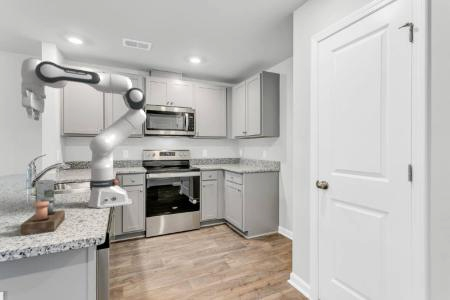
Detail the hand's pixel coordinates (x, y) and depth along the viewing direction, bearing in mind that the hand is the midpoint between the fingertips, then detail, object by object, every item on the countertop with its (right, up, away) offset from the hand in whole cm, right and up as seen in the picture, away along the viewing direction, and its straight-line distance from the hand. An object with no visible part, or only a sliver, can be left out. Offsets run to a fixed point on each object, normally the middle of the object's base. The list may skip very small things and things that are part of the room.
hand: (33, 119), depth 110 cm
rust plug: (+25, -42, -25) cm, 55 cm away
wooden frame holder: (+23, -47, -21) cm, 56 cm away
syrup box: (-2, -47, +9) cm, 48 cm away
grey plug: (+21, -42, -17) cm, 50 cm away
